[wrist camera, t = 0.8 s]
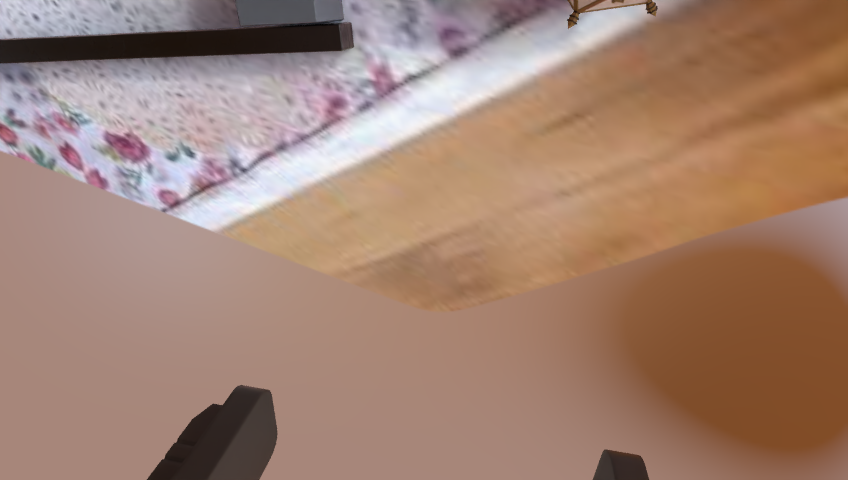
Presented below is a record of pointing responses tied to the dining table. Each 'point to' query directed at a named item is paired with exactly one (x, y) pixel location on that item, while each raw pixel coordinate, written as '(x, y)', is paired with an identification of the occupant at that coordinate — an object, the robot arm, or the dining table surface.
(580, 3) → the beige icosahedron
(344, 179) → the dining table surface
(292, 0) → the slate block
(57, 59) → the straightedge
